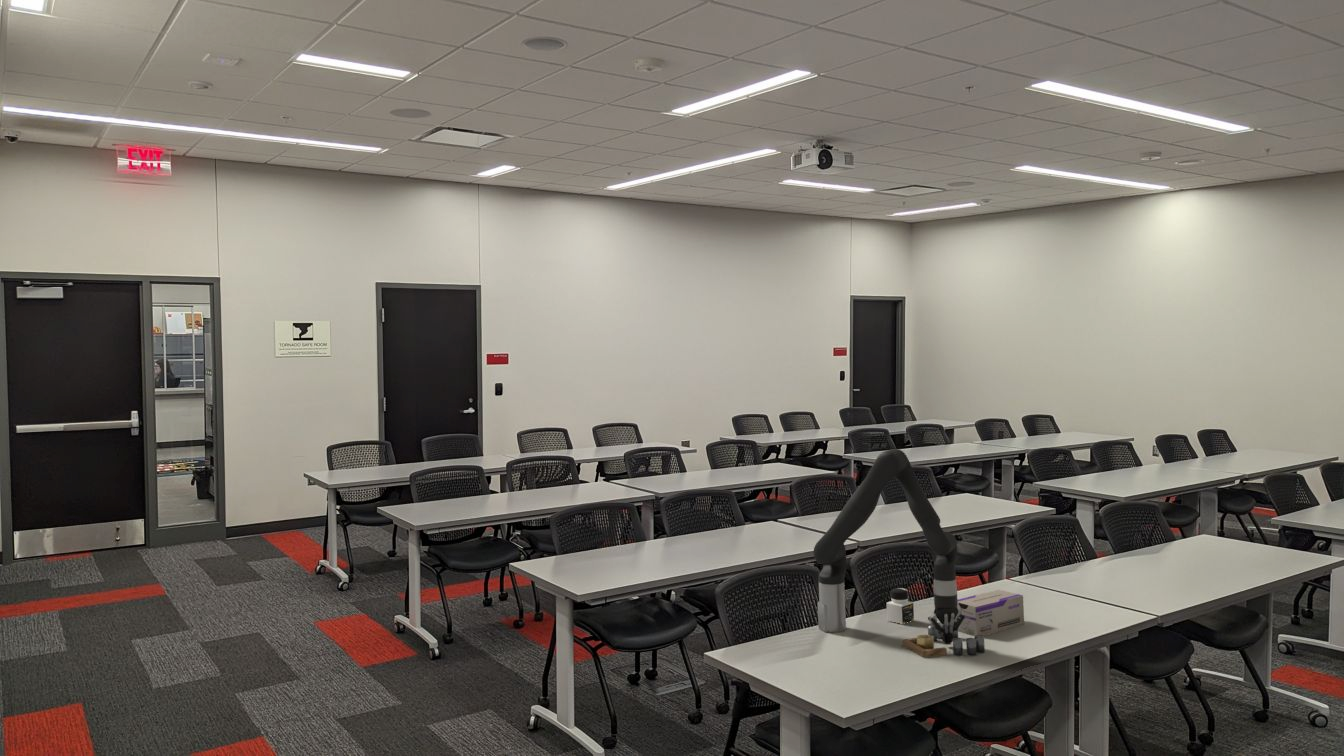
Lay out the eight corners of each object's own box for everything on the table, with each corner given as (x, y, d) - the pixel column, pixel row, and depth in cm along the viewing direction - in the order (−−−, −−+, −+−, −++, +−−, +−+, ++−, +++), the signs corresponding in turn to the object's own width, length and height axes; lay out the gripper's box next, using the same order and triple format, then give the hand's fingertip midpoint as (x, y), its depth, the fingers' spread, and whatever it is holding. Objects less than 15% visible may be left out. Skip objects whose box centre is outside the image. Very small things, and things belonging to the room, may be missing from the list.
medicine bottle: (902, 625, 324) (901, 592, 324) (886, 621, 329) (885, 589, 329) (914, 621, 328) (913, 589, 328) (898, 617, 334) (897, 585, 334)
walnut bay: (923, 657, 287) (923, 651, 287) (902, 645, 301) (902, 639, 301) (946, 654, 289) (946, 648, 289) (925, 642, 303) (924, 636, 303)
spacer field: (959, 657, 286) (958, 642, 286) (924, 638, 307) (923, 624, 307) (989, 653, 288) (988, 638, 288) (952, 635, 309) (952, 620, 309)
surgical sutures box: (999, 618, 328) (998, 589, 328) (1024, 624, 319) (1023, 595, 319) (952, 630, 316) (951, 600, 316) (977, 637, 306) (975, 606, 306)
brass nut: (920, 653, 291) (920, 640, 291) (913, 648, 297) (913, 635, 297) (937, 652, 292) (937, 638, 292) (930, 647, 297) (930, 634, 297)
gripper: (933, 596, 291) (935, 649, 291) (969, 592, 294) (971, 644, 294) (921, 591, 299) (924, 642, 299) (957, 587, 302) (959, 638, 302)
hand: (947, 643), depth 297 cm, fingers closed
